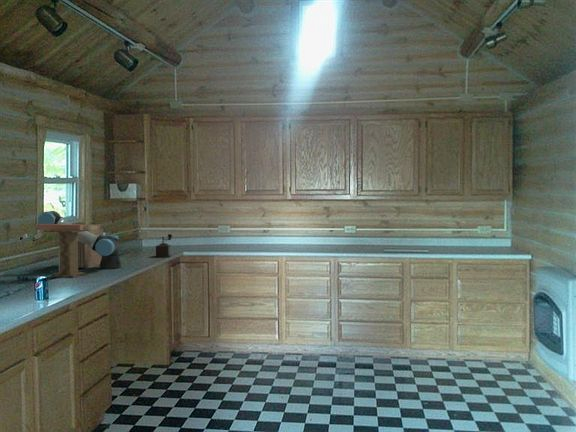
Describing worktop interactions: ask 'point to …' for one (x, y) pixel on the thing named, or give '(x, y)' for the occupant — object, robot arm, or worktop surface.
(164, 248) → the coffee grinder
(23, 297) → the worktop surface
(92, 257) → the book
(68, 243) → the shelf stand
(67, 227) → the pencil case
